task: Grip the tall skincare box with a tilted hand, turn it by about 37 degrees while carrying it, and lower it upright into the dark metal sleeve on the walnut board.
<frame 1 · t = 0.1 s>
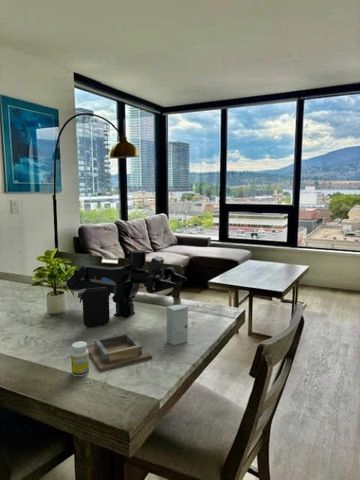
hand: (181, 282, 132), 17 cm above the table, tool horizontal, fingers open, 9 cm apart
sleeve holder: (117, 353, 111), on the table
supplement bottle: (80, 373, 100), on the table
carrying case or bag: (95, 327, 133), on the table
skincare box: (177, 341, 120), on the table
game console: (97, 297, 169), on the table
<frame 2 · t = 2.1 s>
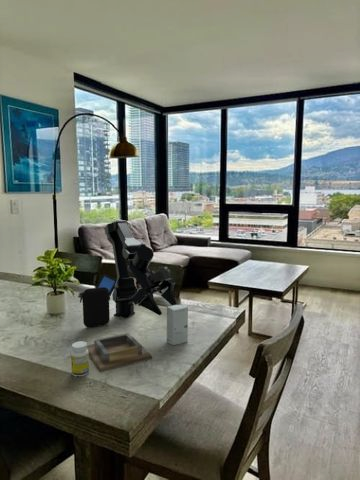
hand: (168, 310, 120), 10 cm above the table, tool tilted 45°, fingers open, 9 cm apart
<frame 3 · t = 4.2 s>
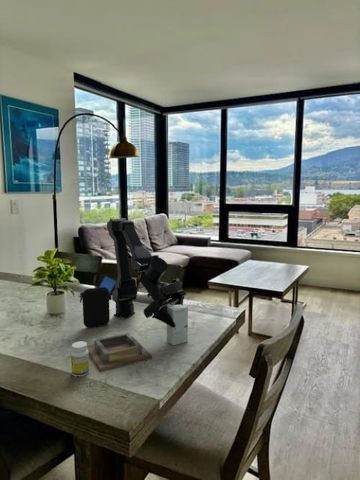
hand: (180, 323, 119), 7 cm above the table, tool tilted 45°, fingers closed on skincare box, 7 cm apart
skincare box: (177, 341, 120), on the table, touching gripper
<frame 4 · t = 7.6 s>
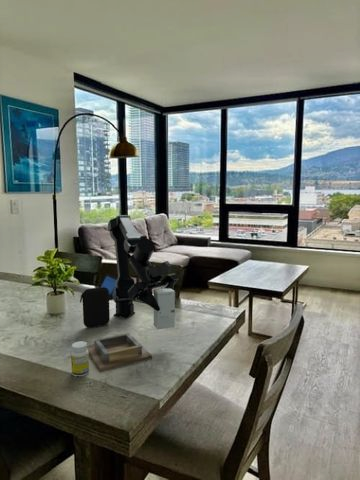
hand: (167, 307, 114), 13 cm above the table, tool tilted 45°, fingers closed on skincare box, 7 cm apart
skincare box: (164, 326, 116), point 6 cm above the table, touching gripper
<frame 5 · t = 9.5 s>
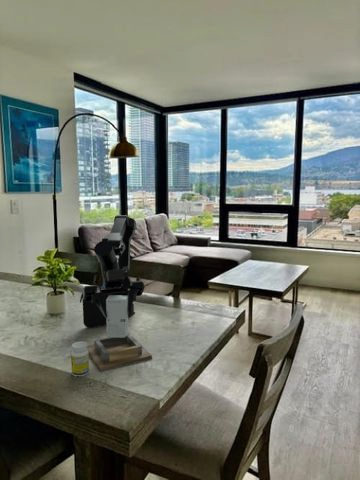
hand: (118, 315, 108), 13 cm above the table, tool tilted 45°, fingers closed on skincare box, 7 cm apart
skincare box: (118, 335, 110), point 6 cm above the table, touching gripper
when the fingers open (9 cm above the table, at t = 11.2 s): skincare box drops 1 cm, resting on sleeve holder.
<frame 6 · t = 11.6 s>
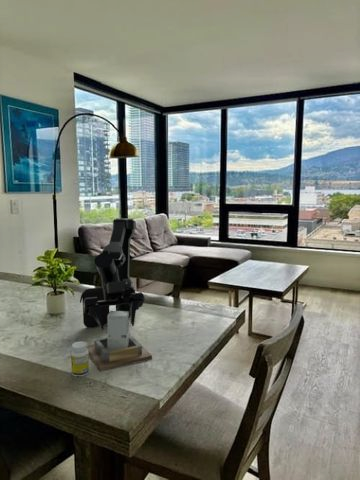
hand: (118, 327, 109), 9 cm above the table, tool tilted 45°, fingers open, 9 cm apart
skincare box: (118, 350, 111), point 1 cm above the table, touching sleeve holder
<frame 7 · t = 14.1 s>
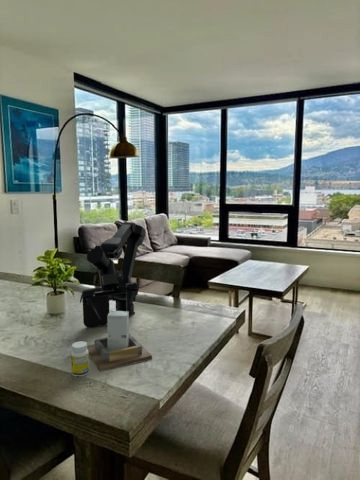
hand: (114, 316, 118), 9 cm above the table, tool tilted 40°, fingers open, 9 cm apart
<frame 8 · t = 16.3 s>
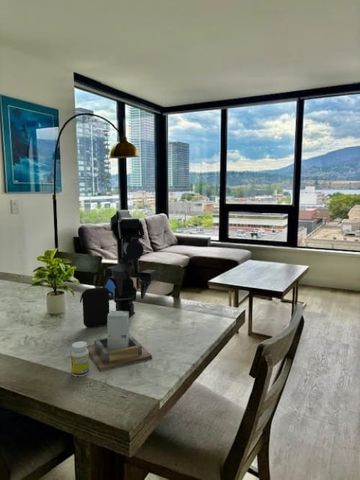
hand: (130, 297, 126), 13 cm above the table, tool pointing down, fingers open, 9 cm apart
at the end: skincare box 0.3 cm off-centre on the sleeve holder, point 0.8 cm above the sleeve holder's base; skincare box tilted 0°; the gripper is holding nothing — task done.
